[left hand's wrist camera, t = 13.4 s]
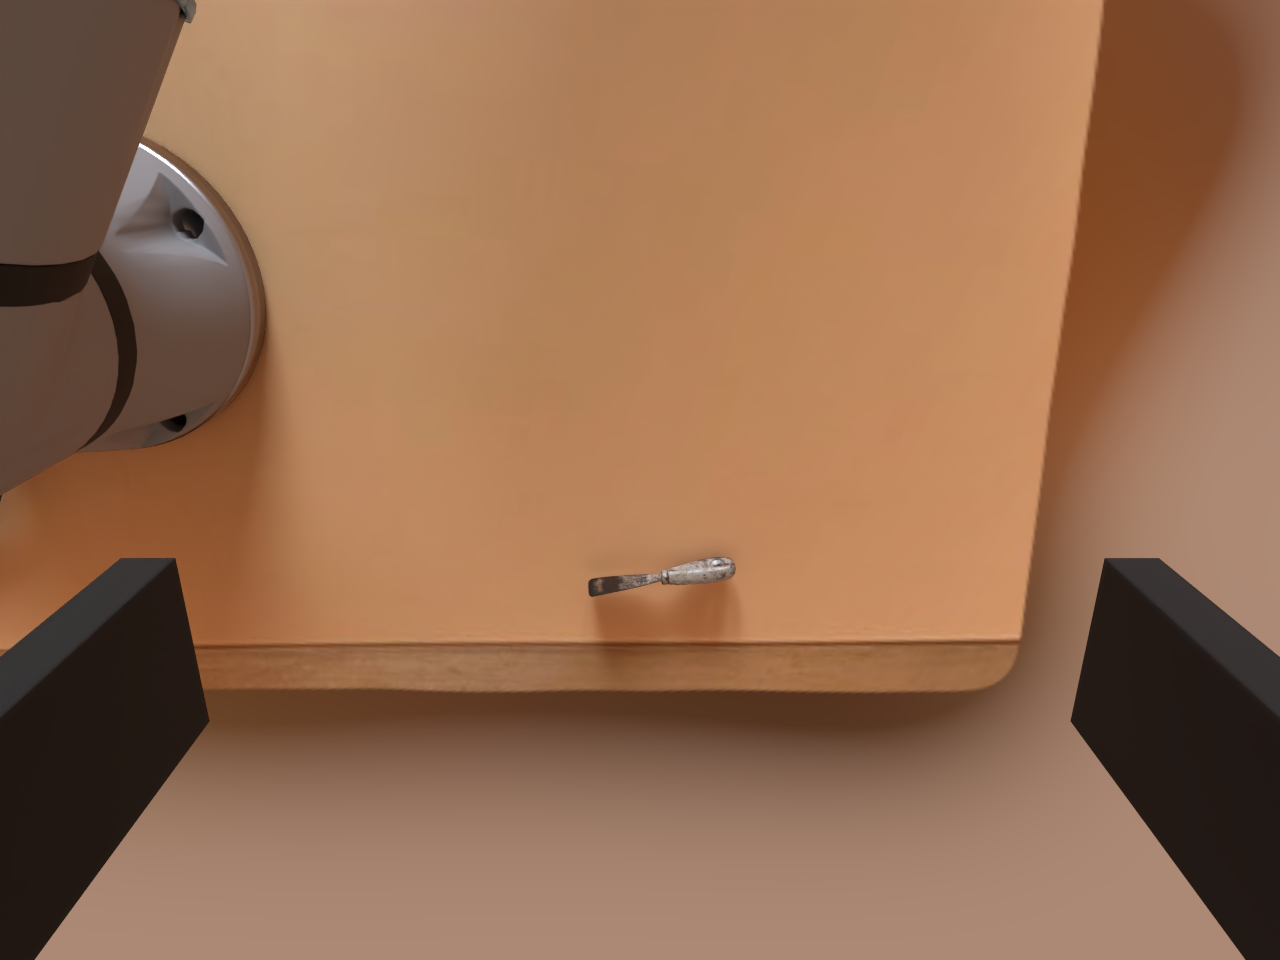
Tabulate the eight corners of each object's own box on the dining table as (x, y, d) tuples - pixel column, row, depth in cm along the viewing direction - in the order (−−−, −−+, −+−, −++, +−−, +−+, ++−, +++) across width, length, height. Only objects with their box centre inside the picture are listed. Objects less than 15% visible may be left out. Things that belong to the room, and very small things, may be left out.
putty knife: (735, 568, 49) (738, 583, 47) (591, 591, 49) (589, 606, 48) (732, 552, 48) (735, 566, 47) (587, 574, 49) (586, 589, 47)
